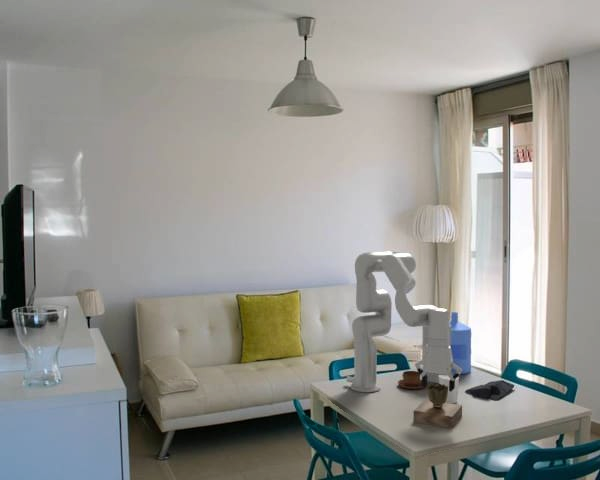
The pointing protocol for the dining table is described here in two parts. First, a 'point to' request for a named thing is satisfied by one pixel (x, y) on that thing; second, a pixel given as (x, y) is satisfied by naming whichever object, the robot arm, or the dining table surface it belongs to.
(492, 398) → the black crumpled fabric piece
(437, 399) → the cup
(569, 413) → the dining table surface
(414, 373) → the cup and saucer
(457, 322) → the water jug
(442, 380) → the white cup
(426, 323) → the robot arm
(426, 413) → the walnut plinth
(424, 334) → the cylinder vase
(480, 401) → the dining table surface
